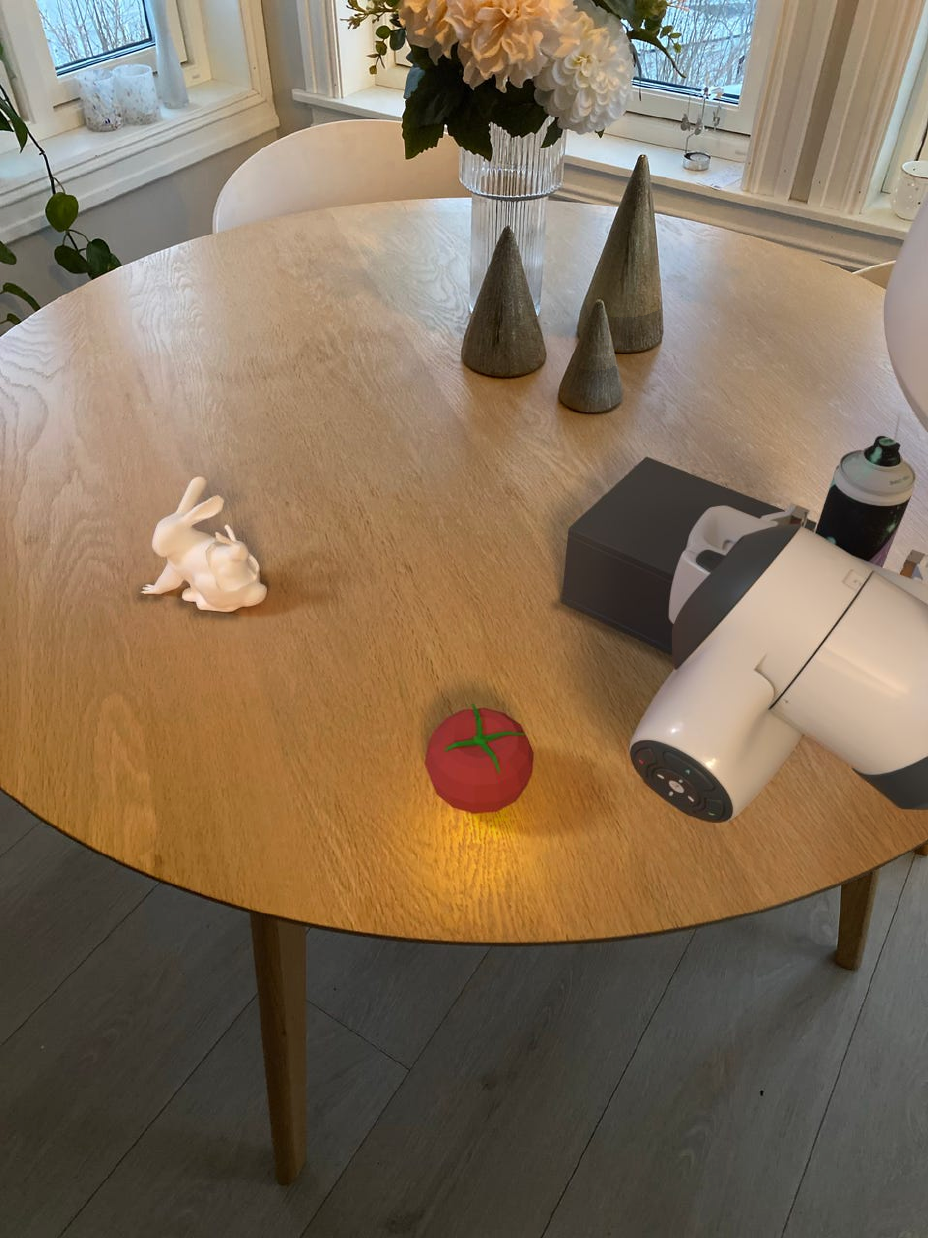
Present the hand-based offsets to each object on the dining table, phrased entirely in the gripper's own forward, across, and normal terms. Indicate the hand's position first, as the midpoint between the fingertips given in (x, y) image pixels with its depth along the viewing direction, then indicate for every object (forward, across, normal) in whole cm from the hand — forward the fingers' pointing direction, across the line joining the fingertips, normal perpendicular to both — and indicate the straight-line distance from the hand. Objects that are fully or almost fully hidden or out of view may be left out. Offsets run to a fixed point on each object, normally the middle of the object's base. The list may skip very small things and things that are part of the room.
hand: (857, 535), depth 74 cm
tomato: (-29, +15, +13) cm, 35 cm away
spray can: (-1, 0, +11) cm, 11 cm away
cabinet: (-1, +13, +13) cm, 18 cm away
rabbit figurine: (-25, +48, +13) cm, 55 cm away
